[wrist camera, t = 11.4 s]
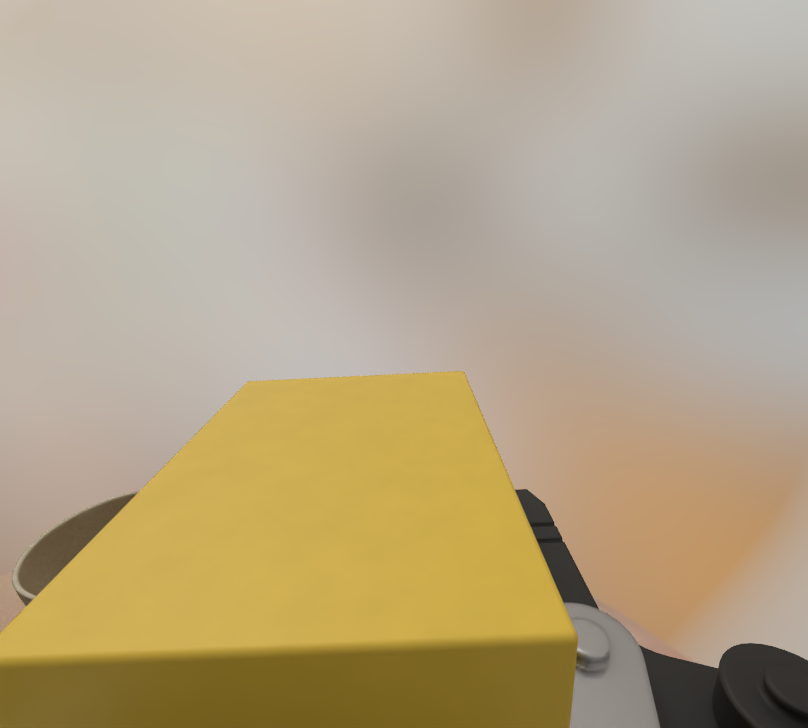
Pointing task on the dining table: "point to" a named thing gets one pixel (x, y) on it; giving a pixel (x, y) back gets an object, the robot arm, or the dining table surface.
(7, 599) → the dining table surface
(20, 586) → the beige bowl
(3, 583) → the dining table surface
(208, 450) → the sponge
